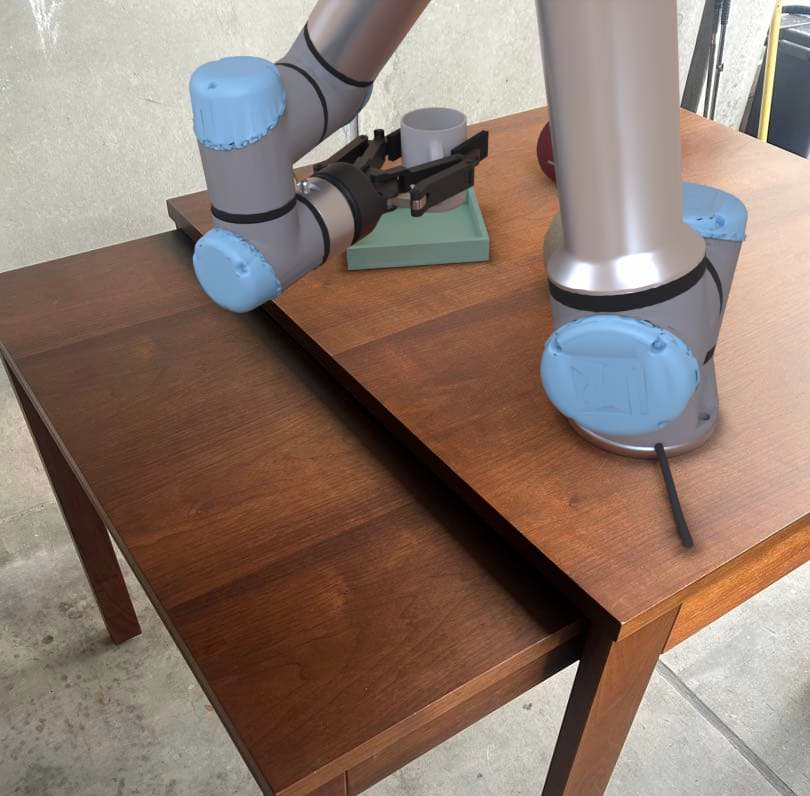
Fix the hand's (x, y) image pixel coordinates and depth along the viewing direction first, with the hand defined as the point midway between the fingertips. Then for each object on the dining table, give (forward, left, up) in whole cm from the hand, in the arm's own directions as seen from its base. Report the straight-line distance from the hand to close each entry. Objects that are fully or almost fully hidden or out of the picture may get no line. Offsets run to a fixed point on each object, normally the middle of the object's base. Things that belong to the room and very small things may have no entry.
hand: (453, 136), depth 97 cm
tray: (+13, +4, -18) cm, 23 cm away
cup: (-4, +3, -6) cm, 8 cm away
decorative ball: (+27, -20, -13) cm, 36 cm away
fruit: (-5, -16, -18) cm, 25 cm away
